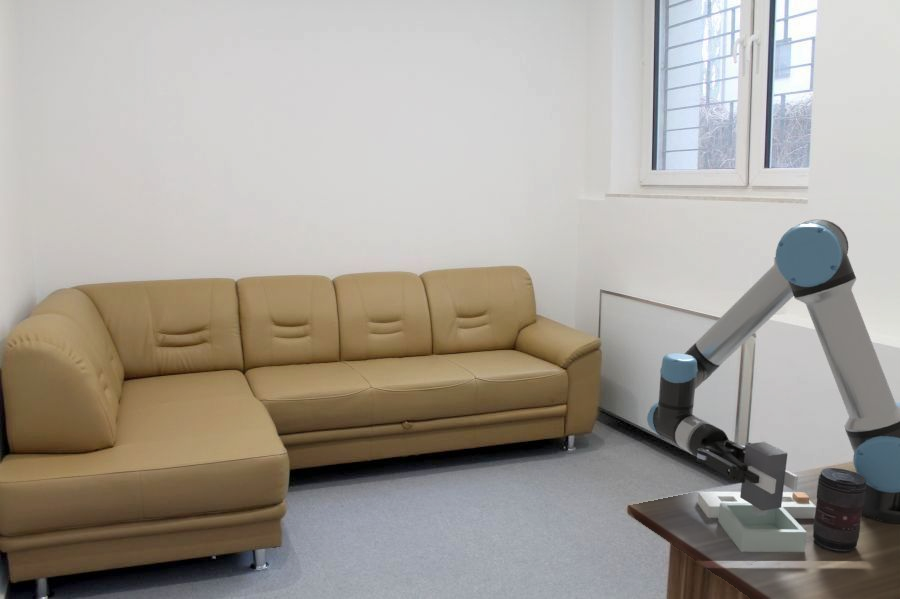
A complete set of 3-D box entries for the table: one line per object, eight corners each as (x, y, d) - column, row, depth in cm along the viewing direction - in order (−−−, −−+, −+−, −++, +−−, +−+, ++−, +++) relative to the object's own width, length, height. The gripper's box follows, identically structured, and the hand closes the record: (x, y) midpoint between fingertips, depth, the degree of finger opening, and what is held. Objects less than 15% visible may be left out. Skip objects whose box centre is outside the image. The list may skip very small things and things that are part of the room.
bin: (776, 526, 159) (779, 503, 158) (804, 556, 148) (806, 532, 147) (717, 526, 159) (719, 502, 158) (740, 556, 147) (743, 531, 146)
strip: (799, 507, 168) (801, 487, 167) (814, 522, 161) (817, 502, 160) (696, 506, 167) (698, 487, 166) (707, 522, 160) (709, 501, 160)
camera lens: (863, 561, 146) (873, 486, 143) (816, 556, 148) (825, 481, 145) (850, 540, 154) (859, 468, 151) (806, 536, 155) (814, 464, 152)
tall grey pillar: (757, 505, 156) (764, 441, 153) (779, 518, 151) (787, 453, 148) (739, 508, 154) (745, 444, 152) (761, 522, 149) (768, 456, 146)
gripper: (733, 451, 171) (818, 497, 150) (666, 461, 165) (745, 510, 143) (737, 418, 170) (823, 460, 148) (669, 427, 163) (749, 471, 142)
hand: (784, 484), depth 146 cm, fingers closed on tall grey pillar, 4 cm apart
